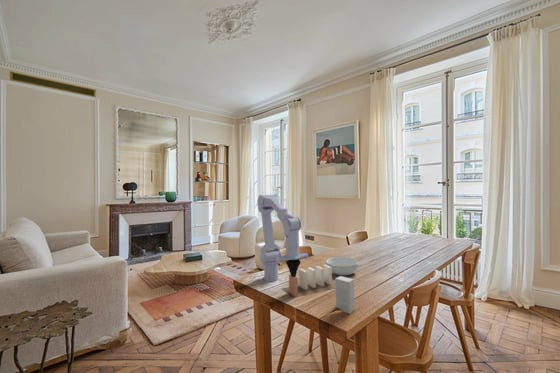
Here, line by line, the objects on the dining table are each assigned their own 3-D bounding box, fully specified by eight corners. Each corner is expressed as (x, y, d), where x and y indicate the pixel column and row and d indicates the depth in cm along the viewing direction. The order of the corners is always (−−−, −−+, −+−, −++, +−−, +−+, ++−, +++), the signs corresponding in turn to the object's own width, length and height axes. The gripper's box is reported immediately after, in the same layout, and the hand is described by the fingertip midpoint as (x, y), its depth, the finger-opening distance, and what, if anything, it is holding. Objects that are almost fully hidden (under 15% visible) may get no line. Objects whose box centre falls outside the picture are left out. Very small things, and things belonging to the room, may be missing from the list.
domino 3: (321, 286, 118) (321, 269, 119) (315, 282, 123) (315, 266, 123) (324, 285, 119) (323, 268, 119) (318, 282, 124) (318, 265, 124)
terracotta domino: (294, 296, 108) (294, 278, 108) (289, 292, 112) (288, 274, 112) (297, 296, 108) (297, 277, 108) (292, 291, 113) (292, 273, 113)
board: (292, 300, 107) (292, 297, 107) (281, 290, 117) (281, 288, 117) (341, 289, 117) (341, 287, 117) (327, 281, 127) (327, 279, 127)
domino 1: (304, 289, 115) (304, 272, 115) (299, 286, 119) (299, 269, 119) (307, 289, 115) (307, 271, 115) (302, 285, 120) (302, 268, 120)
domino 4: (329, 284, 120) (328, 267, 120) (323, 281, 125) (323, 264, 125) (332, 283, 121) (331, 267, 121) (326, 280, 126) (325, 264, 126)
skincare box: (355, 310, 97) (354, 279, 97) (350, 314, 94) (349, 282, 94) (340, 305, 101) (340, 275, 101) (335, 309, 98) (334, 278, 98)
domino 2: (313, 288, 117) (312, 270, 117) (307, 284, 121) (307, 267, 121) (316, 287, 117) (315, 270, 117) (310, 283, 122) (310, 267, 122)
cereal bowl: (332, 267, 149) (332, 255, 149) (361, 271, 141) (361, 259, 141) (321, 276, 135) (321, 263, 135) (353, 281, 126) (352, 267, 126)
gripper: (281, 249, 104) (282, 282, 104) (311, 245, 110) (312, 276, 110) (274, 246, 110) (275, 277, 110) (303, 242, 116) (304, 272, 116)
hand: (293, 276), depth 110 cm, fingers closed, pressing on terracotta domino
